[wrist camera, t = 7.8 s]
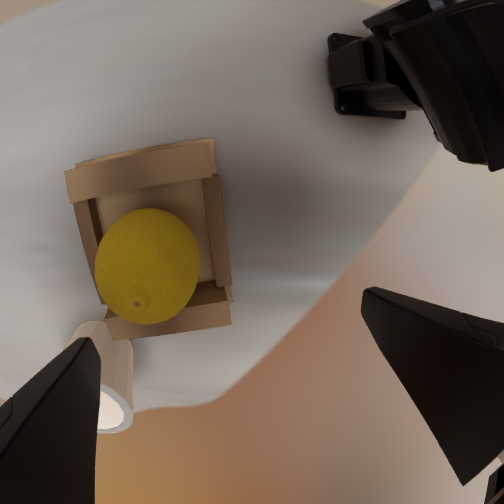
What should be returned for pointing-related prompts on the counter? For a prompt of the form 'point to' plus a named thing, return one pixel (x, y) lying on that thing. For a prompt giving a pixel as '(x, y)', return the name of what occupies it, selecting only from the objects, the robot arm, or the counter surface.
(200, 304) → the cradle
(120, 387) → the shot glass
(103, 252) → the lemon
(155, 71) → the counter surface
